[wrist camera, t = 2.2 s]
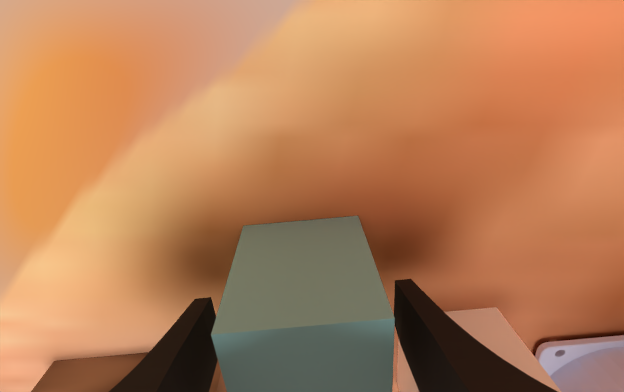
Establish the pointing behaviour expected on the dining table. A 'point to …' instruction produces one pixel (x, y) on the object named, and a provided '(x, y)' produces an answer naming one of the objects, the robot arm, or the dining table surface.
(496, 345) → the off-white block
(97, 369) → the walnut base block
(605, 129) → the dining table surface
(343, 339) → the teal block
